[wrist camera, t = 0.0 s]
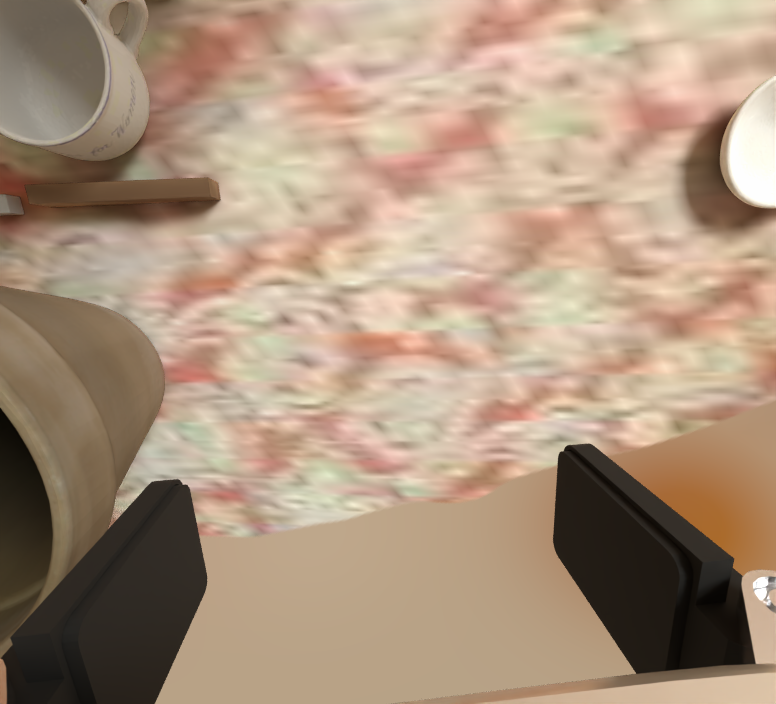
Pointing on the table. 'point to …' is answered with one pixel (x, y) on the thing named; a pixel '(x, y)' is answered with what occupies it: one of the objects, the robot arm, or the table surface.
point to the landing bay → (10, 205)
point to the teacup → (72, 77)
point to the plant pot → (64, 436)
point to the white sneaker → (752, 148)
